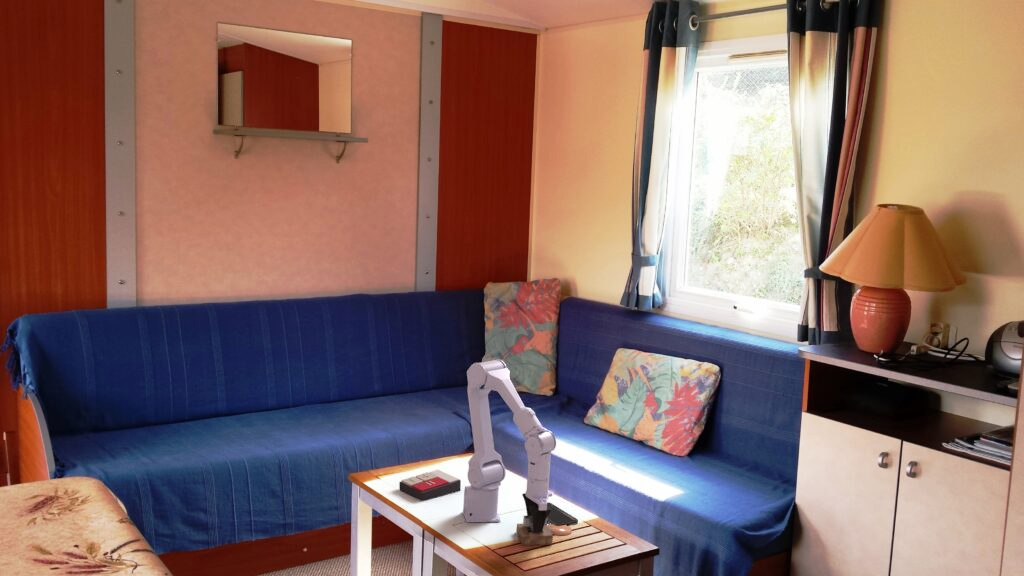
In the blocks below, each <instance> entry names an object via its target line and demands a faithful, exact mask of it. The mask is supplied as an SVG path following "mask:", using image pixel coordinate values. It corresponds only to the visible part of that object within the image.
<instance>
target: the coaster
mask: <svg viewBox="0 0 1024 576" xmlns="http://www.w3.org/2000/svg"><path fill="white" fill-rule="evenodd" d="M567 525H568V524H566V525H561V526H556V525H554V524H550V523H549V524H547V526H548V528H549V529H550V531H551V533H552V535H553V536H568V535H569V534H571V533H572V531H573V530H572V527H571V526H570V525H568V526H567Z"/></svg>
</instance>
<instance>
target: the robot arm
mask: <svg viewBox="0 0 1024 576" xmlns="http://www.w3.org/2000/svg"><path fill="white" fill-rule="evenodd" d="M510 375H511V371H510V370H509V368H508V367H507V365H506V363H505V362H504V361H503V360H502V359H499V358H497V359H493V360H488V361H487V360H486V361H482V362H474V363H473V364H471V365H470V366H469V368H468V369H467V371H466V377H467V388H466V389H467V390H466V391H467V398H468V404H469V405H468V407H469V414H470V422H471V432H472V439H473V440H472V441H473V448H474V453H473V455H472V456H471V458H469V460H468V470H467V480H468V482H469V485H468V486H467V485H466V486H465V487H464V492H463V508H462V513H463V515H464V519H465V521H466V523H491V522H493V523H494V522H495V523H498V522H501V518H500V516H499V513H498V504H499V490H500V486H501V484H502V482H503V480H504V479H505V477H506V475H507V474H506V467H505V465H504V464H503V458H502V455H501V454H499V453H498V452H497V451H496V450H495V443H494V436H493V428H492V420H491V410H490V401H489V394H490V393H491V391H495V392H498V394H499V395H500V397H501V398H502V400H503V401H504V402H505V404H506V405H507V406H508V408H509V409H510V410H511V411H512V413H513V418H512V421H513V423H514V424H515V425H516V427H517V429H518V430H519V432H520V435H522V437H523V439H524V440H525V442H524V448H525V451H526V454H527V460H528V461H527V462H528V464H527V465H528V466H527V476H526V477H527V479H526V490H525V493H522V494H521V495H522V497H523V500H524V503H525V509H526V516H532V520H533V530H534V532H542V530H543V527H544V524H545V521H546V518H547V516H548V515H549V513H550V512H551V507H547V502H548V500H549V498H550V497H551V498H552V497H553V492H552V491H549V483H550V470H551V469H550V468H551V457H552V456H551V454H552V452H553V451H555V450H556V446H557V439H556V437H555V434H554V433H553V432H552V431H551V430H549V429H547V428H546V427H543V424H542V423H541V422H540V420H539V419H538V417H537V415H536V412H535V411H534V410H533V409H532V408H531V407H526V406H525V404H524V402H523V401H522V399H521V397H520V395H519V393H518V392H517V390H516V388H515V385H514V384H513V382H512V381H511V378H510Z"/></svg>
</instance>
